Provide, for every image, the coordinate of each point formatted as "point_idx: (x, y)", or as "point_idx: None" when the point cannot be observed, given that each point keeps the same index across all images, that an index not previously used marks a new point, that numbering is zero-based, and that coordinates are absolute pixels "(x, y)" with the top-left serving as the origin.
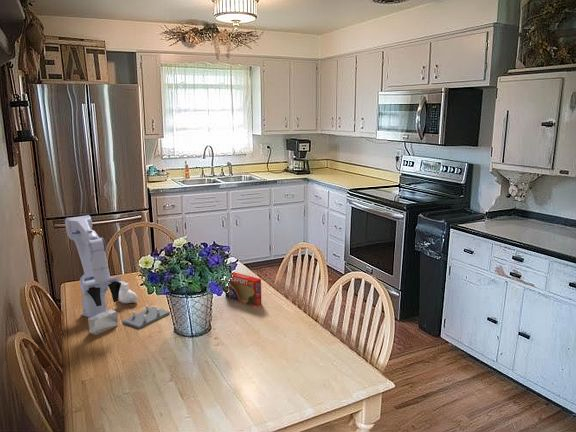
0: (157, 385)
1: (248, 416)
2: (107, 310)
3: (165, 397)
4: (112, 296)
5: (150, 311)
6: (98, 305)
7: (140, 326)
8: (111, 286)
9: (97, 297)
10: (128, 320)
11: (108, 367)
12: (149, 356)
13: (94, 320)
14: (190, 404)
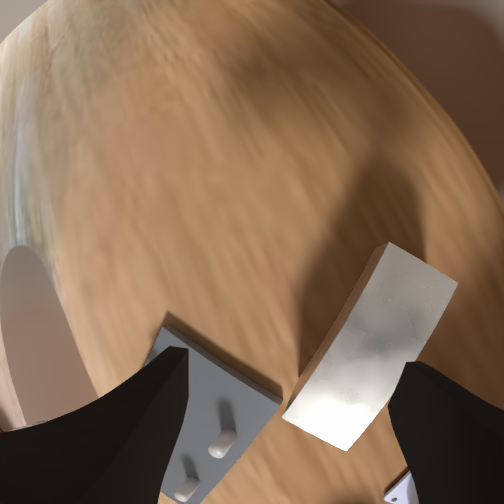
0: (73, 28)
1: (4, 46)
2: (360, 431)
3: (65, 15)
4: (159, 380)
5: (180, 475)
6: (406, 370)
7: (160, 333)
8: (24, 456)
9: (441, 449)
10: (244, 405)
11: (186, 22)
12: (87, 109)
13: (393, 251)
14: (41, 24)
